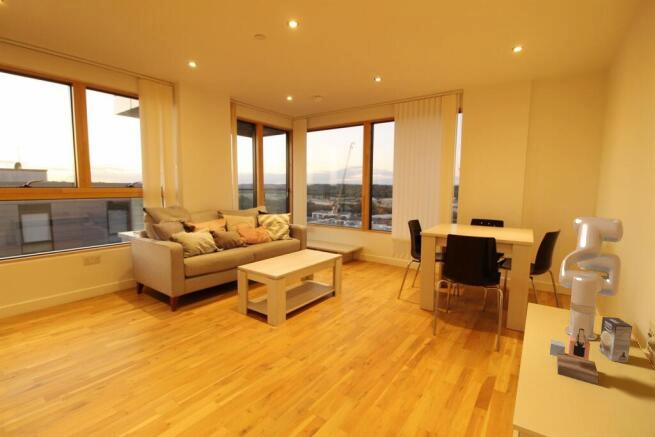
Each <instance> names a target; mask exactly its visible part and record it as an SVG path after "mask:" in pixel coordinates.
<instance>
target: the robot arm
mask: <svg viewBox="0 0 655 437" xmlns="http://www.w3.org/2000/svg"><path fill="white" fill-rule="evenodd" d="M572 227H573V230H574V232H575V235H576V237H577V241H576V246H575V249H574V251H570V253H568V254H567V255H566V256H565V257H564V258H563V259H562V262H561V263H560V264H561V265H560V268H559V274H558V282H559V284H560V285H561V286H562V287H563V288H567V289H571V296H570V305H569V310H570V312H569V325H568V326H567V327H565V328H564V332H565V333H566V334H567V335H568V336H569V335H571V336H572V337H576V340H575V345H574V352H573V354H574V355H576V356H580V357H584V352H585V340H587V339H589V341H596V340H597V339H598V335H597V334H596V333H594V330H595V329H594V328H595V321H596V320H595V319H596V310H597V296H598V295H600V296H606V297H614V296H615V297H616V296H617V294H618V292H619V287H620V277H621V269H622V268H621V267H622V266H621V265H622V261H621V258H620V256H619V255H618V254H615V253H611V252H603V242H608V243H609V242H610V243H618V242H621V241H622V239H623V237H624V236H623V235H624V225H623V222H622V221H621V219H619V218H611V217H598V216H596V217H595V216H579V217H575V218H574V219H573V221H572ZM573 264H577V268H579V269H581V270H585V271H581V270H574V269H573V270H572V269H569V268H570V267H571V266H572V265H573ZM586 271H590V272H586ZM594 272H595V273H594ZM596 272H597V273H596ZM599 273H600V274H599ZM601 273H604V274H601ZM578 337H579V338H578ZM578 339H579V341H577V340H578Z"/></svg>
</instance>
